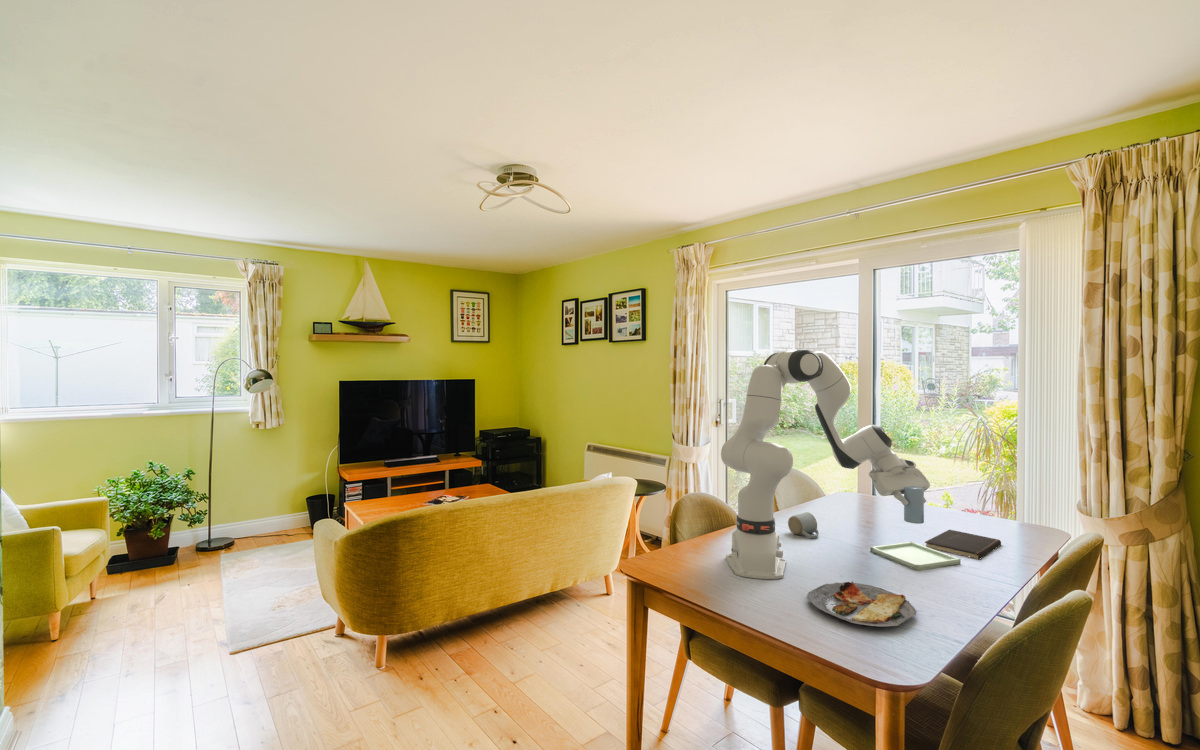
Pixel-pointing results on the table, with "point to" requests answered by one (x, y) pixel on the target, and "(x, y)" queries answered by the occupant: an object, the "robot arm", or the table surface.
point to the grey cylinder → (914, 505)
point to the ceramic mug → (803, 525)
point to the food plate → (863, 604)
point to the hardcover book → (963, 543)
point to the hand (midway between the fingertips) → (915, 503)
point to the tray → (915, 555)
